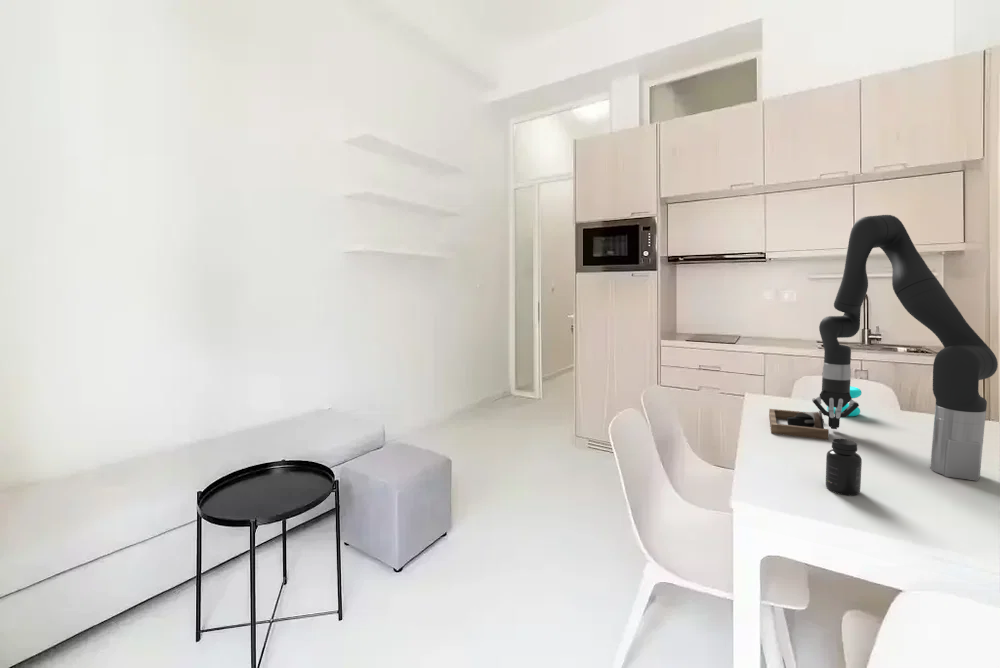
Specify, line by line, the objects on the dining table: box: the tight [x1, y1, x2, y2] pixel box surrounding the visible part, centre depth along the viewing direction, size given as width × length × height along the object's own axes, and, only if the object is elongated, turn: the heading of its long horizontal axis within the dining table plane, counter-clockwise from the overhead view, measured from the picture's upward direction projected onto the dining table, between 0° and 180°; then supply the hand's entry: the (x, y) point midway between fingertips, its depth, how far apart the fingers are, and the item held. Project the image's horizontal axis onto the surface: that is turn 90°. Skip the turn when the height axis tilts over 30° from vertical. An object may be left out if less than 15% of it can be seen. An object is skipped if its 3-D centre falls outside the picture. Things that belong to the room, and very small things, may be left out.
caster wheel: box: [786, 410, 825, 429], centre depth 158 cm, size 7×11×10 cm
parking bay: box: [768, 408, 830, 441], centre depth 160 cm, size 21×16×3 cm
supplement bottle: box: [825, 438, 863, 496], centre depth 112 cm, size 7×7×12 cm
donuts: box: [826, 385, 862, 417], centre depth 174 cm, size 10×10×10 cm
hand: (833, 428), depth 155 cm, fingers closed
